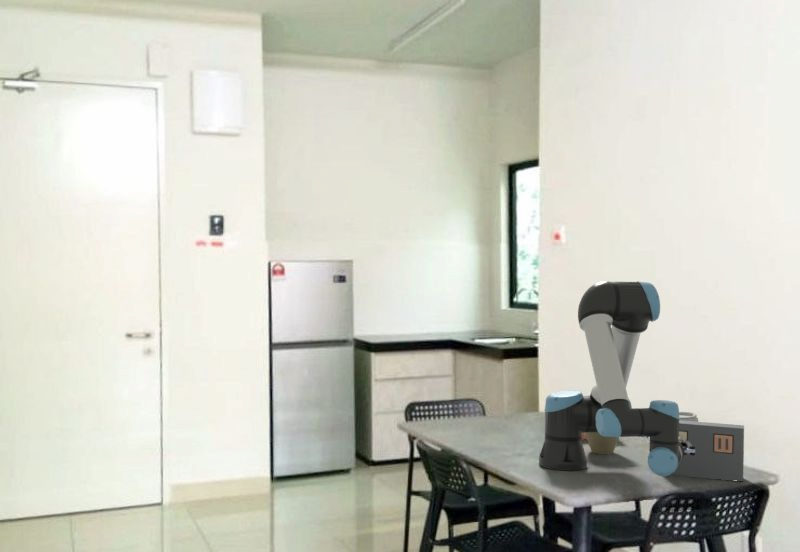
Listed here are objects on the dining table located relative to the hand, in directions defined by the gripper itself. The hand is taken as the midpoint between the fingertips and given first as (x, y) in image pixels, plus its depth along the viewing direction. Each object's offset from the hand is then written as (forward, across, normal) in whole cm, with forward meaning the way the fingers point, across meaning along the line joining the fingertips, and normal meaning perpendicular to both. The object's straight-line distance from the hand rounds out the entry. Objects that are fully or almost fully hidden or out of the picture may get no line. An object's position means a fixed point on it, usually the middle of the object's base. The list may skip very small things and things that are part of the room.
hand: (678, 440), depth 253 cm
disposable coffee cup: (+28, -2, -11) cm, 30 cm away
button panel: (+4, +6, -11) cm, 13 cm away
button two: (+2, +13, -2) cm, 13 cm away
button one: (+2, 0, -2) cm, 3 cm away
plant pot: (+24, -28, -11) cm, 38 cm away
